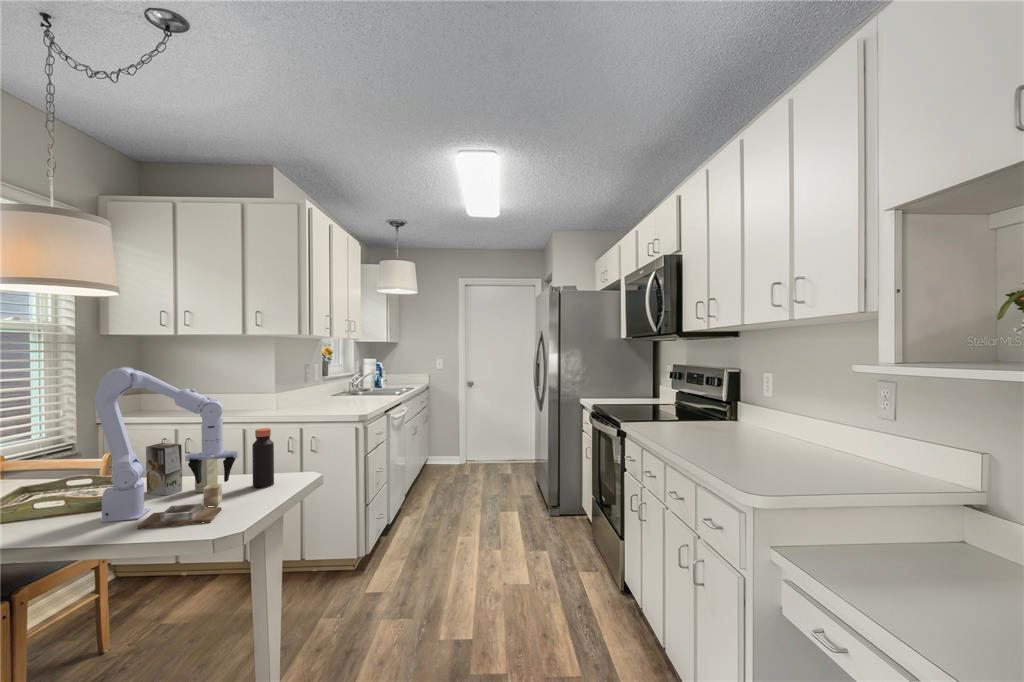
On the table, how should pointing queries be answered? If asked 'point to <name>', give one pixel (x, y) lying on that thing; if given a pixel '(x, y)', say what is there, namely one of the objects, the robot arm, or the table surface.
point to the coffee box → (164, 468)
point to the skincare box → (207, 474)
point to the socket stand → (180, 516)
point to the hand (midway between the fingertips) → (212, 482)
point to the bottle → (263, 459)
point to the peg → (212, 495)
